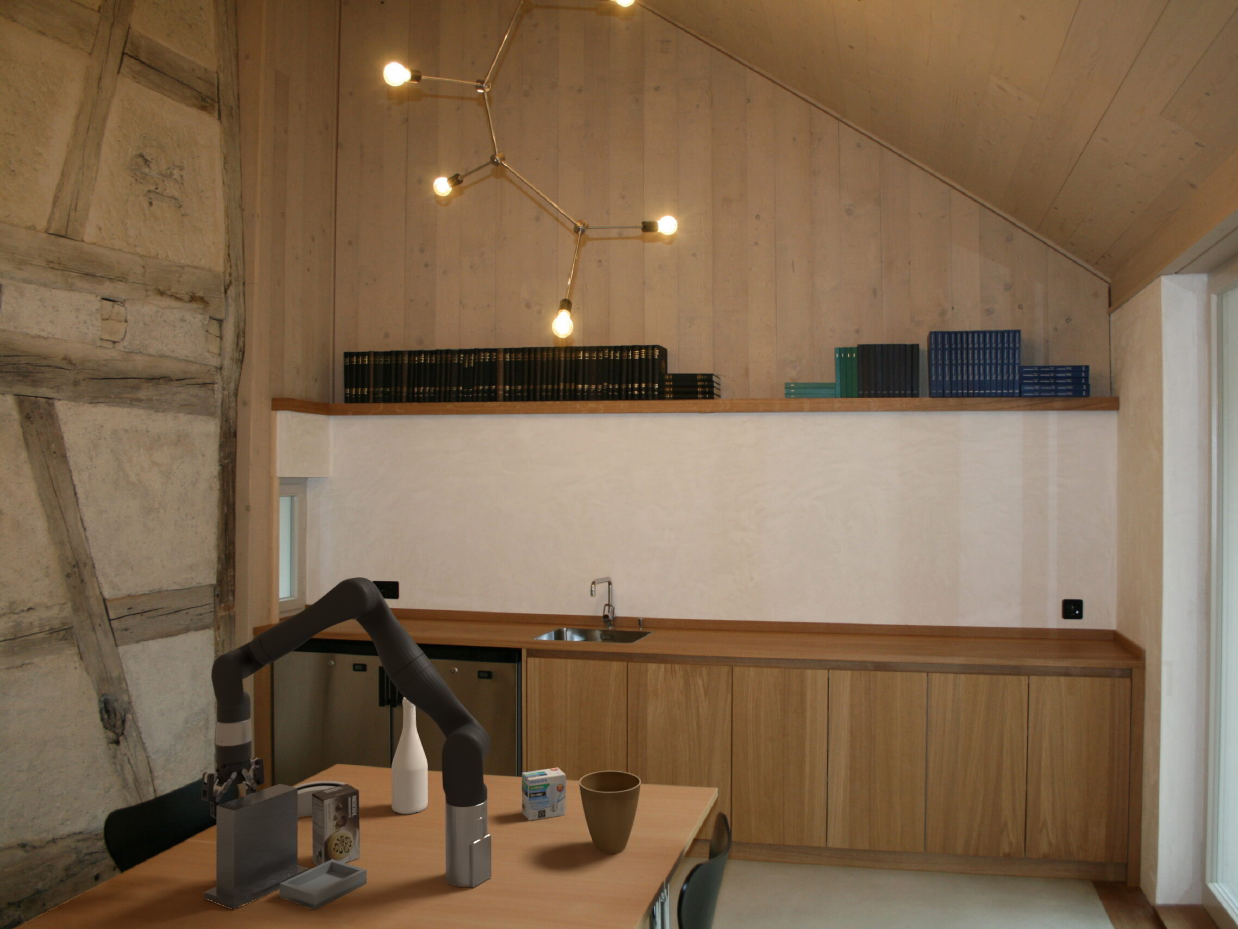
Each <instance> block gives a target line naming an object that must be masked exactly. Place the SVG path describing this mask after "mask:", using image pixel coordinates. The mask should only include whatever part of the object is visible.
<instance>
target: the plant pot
mask: <svg viewBox="0 0 1238 929" xmlns="http://www.w3.org/2000/svg"><path fill="white" fill-rule="evenodd" d="M641 780H642V779H641V778H639V776H638V775H636V774H633V773H630V772H625V771H620V770H602V771H596V772H595V771H593V772H591V773H588V774H585V775H583V776H582V777H581V778H580V779H579V780H578V785H579V793H580V799H581V804H582V809H583V814H584V817H585V818H584V819H585V820H586V821H585V823H586V825H587V829H588V832H589V835H590V837H591V841H592V843H593V846H594V848H595V850H597V851H598V852H600V853H603V854H617V853H621V852H622V851H624V850H625V849H626V847H627V845H628V842H629V841H628V840H629V839H630V836H631V832H632V829H633V827H634V822H635V818H636V814H637V810H638V804H639V799H640V798H639V797H640V791H641V784H642V781H641Z"/></svg>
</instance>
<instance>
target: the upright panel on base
mask: <svg viewBox="0 0 1238 929" xmlns="http://www.w3.org/2000/svg"><path fill="white" fill-rule="evenodd" d="M298 818H299V817H298V788H295V786H291V785H287V784H283V783H278V784H275V785H273V786H270V787H267V788H264V789H261V790H258V791H256V792H255V793H252V794H249V795H246V794H245V795H244V796H240V797H238V798H235V799H232V800H229V801H227V802H224V803H221V804H220V805H217V819H216V842H215V843H216V846H215V847H216V851H215V852H216V853H215V854H216V856H215V857H216V862H215V863H216V864H215V868H216V874H215V875H216V878H215V879H216V881H215V883H216V884H215V887H212V888H209V889H207V890H206V891H204V892H203V899H204V898H206V899H209V900H212V901H213V902H216V903H219V904H221V905H224V906H226V907H229V908H232V909H236V908H238V907H239V906H241V905H243V904H246V903H248V904H250V903H249V902H251V901H252V900H255V899H257V900H259V899H261V898H263V897H266V896H267V895H266V894H268V895H270V894H271V892H272V893H274V892H277V891H278V890H280V883H282V882H284V881H286V880H288V879H290V878H293V877H295V876H297V875H299V874H301V873H303V872H306V871H308V870H310V868H309V867H306V866H302V865H299V863H298V862H299V861H298V858H299V856H298V855H299V852H298V851H299V850H298V849H299V848H298V847H299V844H298V843H299V840H298V838H299V836H298V833H299V831H298V829H299V828H298V827H299V825H298V824H299V819H298ZM273 891H274V892H273ZM269 893H270V894H269ZM265 895H266V896H265ZM262 896H263V897H262ZM260 897H261V898H260ZM258 898H259V899H258ZM255 901H256V900H255ZM213 902H212V903H213ZM216 903H215V904H216ZM251 903H252V902H251ZM221 905H220V906H221ZM246 905H247V904H246ZM226 907H225V908H226ZM229 908H228V909H229ZM238 909H239V908H238ZM236 910H237V909H236Z"/></svg>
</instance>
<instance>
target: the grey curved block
mask: <svg viewBox="0 0 1238 929" xmlns="http://www.w3.org/2000/svg"><path fill="white" fill-rule="evenodd" d="M344 784H347V783H346V782H342V781H337V780H336V781H335V780H317V781H309V782H304V783H301V784H299V785H296V786H294V787H295V788H298V818H304V817H303V816H306V817H312V793H315V792H319V791H322V790H326V789H329V788H333V787H337V786H340V785H344Z"/></svg>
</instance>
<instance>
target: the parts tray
mask: <svg viewBox="0 0 1238 929" xmlns="http://www.w3.org/2000/svg"><path fill="white" fill-rule="evenodd" d="M367 871H368V870H367V869H365V868H363V867H360V866H355V865H352V864H350V863H347V862H346V863H343V862H340V861H336V860H333V859H332V860H329V861H327V862H325V863H323V864H321V865H319V866H318V865H316V866H314V867H313V868H309V870H308V871H306V872H303V873H301V874H299V875H297V876H295V877H293V878H290V879H288V880H286V881H284V882H282V883H280V889H279V899H282V898H283V900H285V899H287V900H286V901H288V900H290V901H289V902H291V903H293V902H294V903H293V904H296V903H297V905H299V904H300V906H302V907H305V908H309V909H311V910H313V911H316V910H317V909H320V908H321V906H322V907H323V906H325V905H328V904H329V903H332V902H333V901H336V900H338V899H339V898H341V897H342V896H345V895H347V894H349V893H351V892H353V891H355V890H357V889H358V888H360V887H362V886H364V885H367V879H368V878H367Z"/></svg>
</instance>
